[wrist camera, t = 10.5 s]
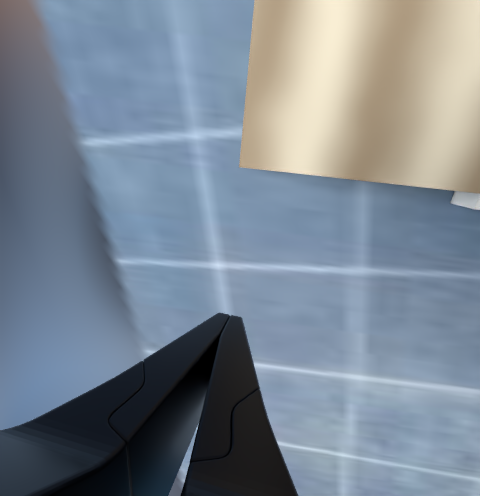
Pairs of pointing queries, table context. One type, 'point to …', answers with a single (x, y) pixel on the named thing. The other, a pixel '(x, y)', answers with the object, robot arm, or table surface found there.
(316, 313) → the table surface
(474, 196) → the tray
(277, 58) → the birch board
